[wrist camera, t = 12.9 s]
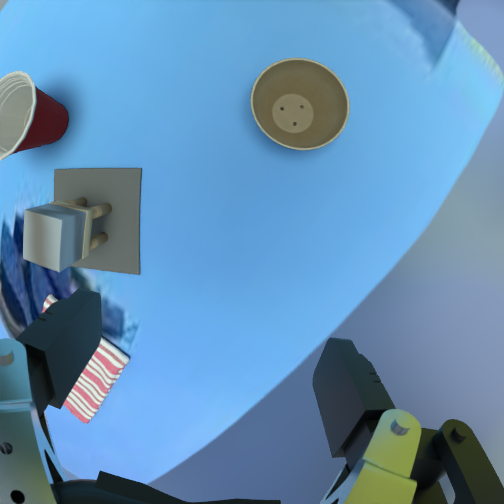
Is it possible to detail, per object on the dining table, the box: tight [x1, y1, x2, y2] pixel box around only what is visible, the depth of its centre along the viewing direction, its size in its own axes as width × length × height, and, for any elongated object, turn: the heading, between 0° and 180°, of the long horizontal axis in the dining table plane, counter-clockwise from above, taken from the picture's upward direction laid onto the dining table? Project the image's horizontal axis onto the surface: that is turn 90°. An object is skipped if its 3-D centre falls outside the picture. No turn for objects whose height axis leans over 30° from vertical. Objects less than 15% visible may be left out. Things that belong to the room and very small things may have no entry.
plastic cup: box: [0, 71, 69, 160], centre depth 27 cm, size 11×11×12 cm
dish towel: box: [42, 294, 130, 423], centre depth 42 cm, size 17×23×4 cm
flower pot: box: [251, 58, 350, 150], centre depth 30 cm, size 10×10×7 cm
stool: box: [23, 197, 112, 272], centre depth 31 cm, size 6×6×12 cm
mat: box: [54, 168, 142, 275], centre depth 37 cm, size 14×14×1 cm
